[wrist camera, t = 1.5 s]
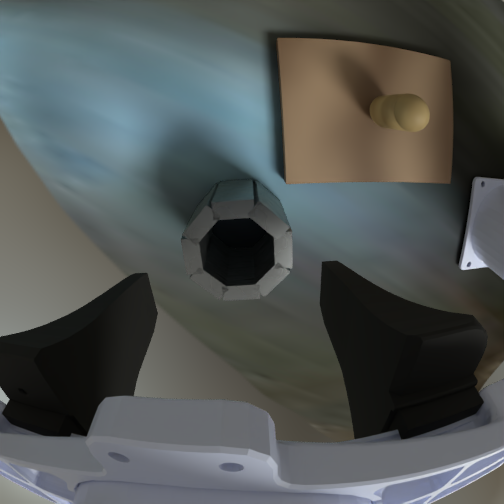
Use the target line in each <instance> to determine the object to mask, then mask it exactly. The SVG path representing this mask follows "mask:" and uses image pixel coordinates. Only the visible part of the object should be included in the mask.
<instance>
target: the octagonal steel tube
mask: <svg viewBox="0 0 504 504" xmlns="http://www.w3.org/2000/svg"><path fill="white" fill-rule="evenodd" d="M239 218H251V219H252V220H254V221H255V222H256V223H257V224H258V225H260V226H261V227H262V228H263V229H264V230H266V231H267V233H266V234H265V235H264V236H263V237H262V238H261V239H260V240H259V241H258V242H257V243H256V244H255V245H254V246H251V247H236V248H230V247H229V246H228V245H226V244H225V243H224V242H222V241H221V240H220V239H219V238H217V237H216V236H215V235H213V231H212V227H213V226H214V224H215V223H216V222H217V221H218V220H226V219H239ZM182 235H183V236H182V238H181V243H182V249H183V255H184V261H185V266H186V272H187V275H188V274H191V276H190V279H191V280H192V281H194V282H195V283H197V284H198V285H199V286H201V287H202V288H204V289H205V290H206V291H208V292H209V293H211V294H212V295H213V296H215V297H216V298H218V299H220V298H221V297H222V296H223V300H224V301H228V300H246V299H260V294H262V295H263V296H264V297H265V296H266V295H267V294H268V293H269V292H270V291H271V290H272V289H273V288H274V287H276V286H277V285H278V284H279V283H280V282H281V281H282V280H283V279H284V278H285V277H286V276H287V275H288V274H289V273H290V268H292V230H291V228H290V225H289V222H288V220H287V217H286V214H285V212H284V209H283V207H282V204H281V202H280V200H279V199H278V198H277V197H275V196H274V195H273V194H272V193H271V192H270V191H268V190H267V189H266V188H265V187H264V186H263V185H261V184H260V183H259V182H258V181H257V180H256V181H255V182H254V183H253V181H252V179H241V180H228V181H220V183H219V184H217V183H216V185H215V186H214V187H213V188H212V189H211V190H210V192H209V193H208V194H207V195H206V196H205V198H204V199H203V200H202V201H201V202H200V204H199V205H198V206H197V208H196V210H195V211H194V213H193V215H192V217H191V219H190V221H189V223H188V224H187V226H186V228H185V230H184V232H183V234H182Z"/></svg>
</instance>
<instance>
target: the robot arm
mask: <svg viewBox="0 0 504 504" xmlns="http://www.w3.org/2000/svg"><path fill="white" fill-rule="evenodd" d="M481 183H482V185H481ZM468 262H469V263H468ZM467 263H468V264H467ZM481 267H489V268H490V269H492V270H493V271H494V272H495V273H496V274H497V275H499V276H500V277H501V278H502V279H503V280H504V179H495V178H485V177H475V178H474V179H473V182H472V191H471V199H470V207H469V214H468V220H467V226H466V232H465V237H464V242H463V247H462V252H461V257H460V261H459V268H461V269H462V270H467V269H475V268H481ZM320 307H321V311H322V316H323V320H324V324H325V326H326V329H327V332H328V334H329V337H330V340H331V342H332V345H333V347H334V350H335V353H336V355H337V358H338V361H339V363H340V366H341V370H342V373H343V377H344V382H345V386H346V391H347V396H348V401H349V406H350V411H351V417H352V423H353V430H354V437H355V439H354V440H349V441H343V442H337V443H320V442H296V441H282V440H276V438H275V425H274V422H273V420H272V419H271V417H270V415H269V414H268V412H266V411H264V410H262V409H260V408H258V407H256V406H254V405H252V404H249V403H247V402H241V401H233V400H225V399H220V400H219V399H218V400H217V399H216V400H199V399H165V398H149V397H137V396H134V391H135V386H136V381H137V378H138V374H139V371H140V368H141V365H142V363H143V360H144V357H145V355H146V352H147V349H148V346H149V344H150V341H151V338H152V335H153V333H154V328H155V323H156V319H157V314H158V312H157V309H156V305H155V301H154V297H153V294H152V290H151V286H150V282H149V278H148V274H147V273H135V274H132V275H130V276H128V277H127V278H125V279H124V280H122V281H121V282H119V283H118V284H116V285H115V286H113V287H112V288H110V289H109V290H108V291H106V292H105V293H103V294H102V295H100V296H99V297H97V298H95V299H94V300H92V301H91V302H89V303H88V304H86V305H85V306H83V307H81V308H79V309H78V310H76V311H74V312H72V313H70V314H69V315H66V316H64V317H62V318H60V319H57V320H55V321H53V322H50V323H48V324H46V325H43V326H40V327H37V328H34V329H31V330H28V331H24V332H20V333H16V334H11V335H7V336H1V337H0V387H1V388H2V390H3V391H4V392H5V394H6V395H7V397H8V398H9V399H10V400H9V402H8V403H7V405H6V404H4V403H3V402H2V401H0V475H2V476H3V477H5V478H7V479H9V480H10V481H12V482H14V483H16V484H18V485H20V486H22V487H23V488H25V489H27V490H29V491H31V492H33V493H35V494H37V495H39V496H41V497H43V498H45V499H47V500H49V501H51V502H53V503H55V504H430V503H432V502H434V501H436V500H439V499H441V498H443V497H444V496H447V495H449V494H451V493H453V492H455V491H457V490H458V489H460V488H462V487H464V486H466V485H468V484H470V483H472V482H473V481H475V480H477V479H479V478H481V477H482V476H484V475H486V474H488V473H489V472H491V471H493V470H494V469H496V468H497V467H499V466H501V465H502V464H503V463H504V379H502V380H500V381H497V382H495V383H493V384H491V385H488V386H486V387H485V388H483V389H482V390H481V391H480V392H479V393H478V391H477V389H476V388H475V385H476V384H477V379H476V377H475V376H474V374H473V373H474V371H475V370H476V368H477V366H478V364H479V362H480V360H481V358H482V356H483V354H484V351H485V348H486V345H487V338H488V336H487V332H486V330H485V329H484V328H483V327H482V325H481V324H480V323H479V322H478V321H477V319H476V318H475V317H474V316H473V315H467V314H459V313H452V312H446V311H442V310H437V309H433V308H430V307H426V306H423V305H420V304H417V303H414V302H411V301H408V300H405V299H403V298H401V297H398V296H396V295H394V294H392V293H390V292H388V291H386V290H384V289H382V288H380V287H378V286H376V285H375V284H373V283H371V282H370V281H368V280H366V279H365V278H363V277H362V276H360V275H358V274H357V273H355V272H354V271H352V270H351V269H349V268H348V267H346V266H345V265H343V264H342V263H340V262H338V261H326V262H322V273H321V293H320Z"/></svg>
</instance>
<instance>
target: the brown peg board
mask: <svg viewBox="0 0 504 504" xmlns="http://www.w3.org/2000/svg"><path fill="white" fill-rule="evenodd" d="M276 49H277V62H278V75H279V89H280V105H281V121H282V139H283V160H284V181H285V183H286V184H299V183H328V182H422V183H449V184H450V183H451V171H452V154H453V93H452V77H451V65H450V60H447V59H443V58H439V57H435V56H431V55H427V54H423V53H419V52H414V51H410V50H405V49H399V48H394V47H388V46H382V45H376V44H368V43H361V42H352V41H342V40H329V39H311V38H277V40H276Z"/></svg>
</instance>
